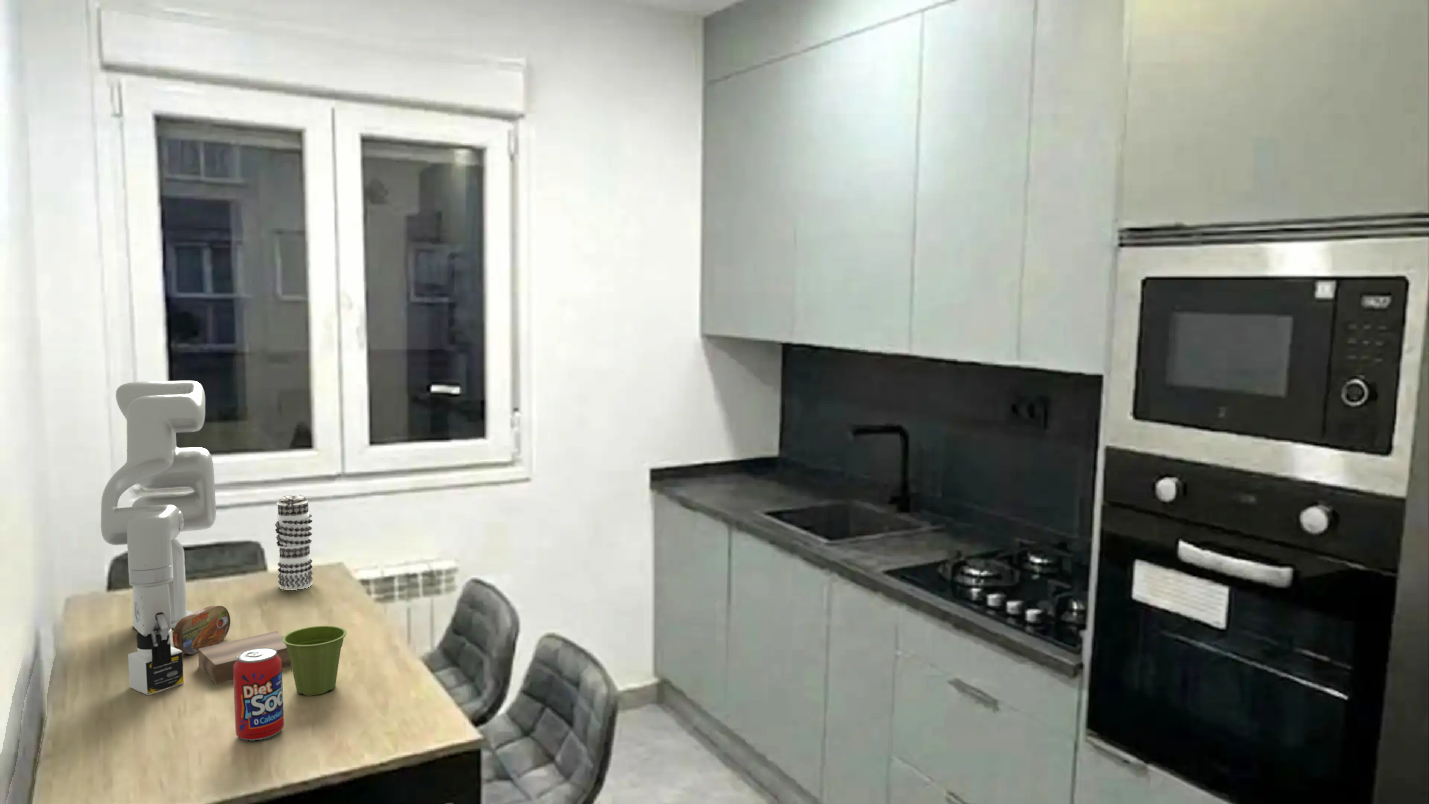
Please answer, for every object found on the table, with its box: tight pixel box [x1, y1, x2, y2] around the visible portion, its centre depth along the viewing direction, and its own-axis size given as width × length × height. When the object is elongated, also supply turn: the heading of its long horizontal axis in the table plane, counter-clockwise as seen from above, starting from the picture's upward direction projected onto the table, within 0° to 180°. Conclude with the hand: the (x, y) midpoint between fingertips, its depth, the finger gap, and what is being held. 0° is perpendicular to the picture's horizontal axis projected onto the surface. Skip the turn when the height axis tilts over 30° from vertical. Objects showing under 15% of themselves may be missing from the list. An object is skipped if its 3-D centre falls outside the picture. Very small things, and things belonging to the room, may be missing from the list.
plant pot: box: [282, 625, 347, 697], centre depth 186 cm, size 12×12×11 cm
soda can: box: [232, 648, 285, 742], centre depth 166 cm, size 8×8×15 cm
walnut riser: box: [197, 630, 292, 685], centre depth 198 cm, size 12×16×4 cm
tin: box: [172, 605, 231, 656], centre depth 207 cm, size 15×3×8 cm, turn 168°
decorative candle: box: [274, 494, 314, 591], centre depth 252 cm, size 9×9×25 cm
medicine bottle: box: [127, 629, 184, 696], centre depth 186 cm, size 7×7×12 cm
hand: (155, 657), depth 186 cm, fingers open, 9 cm apart
